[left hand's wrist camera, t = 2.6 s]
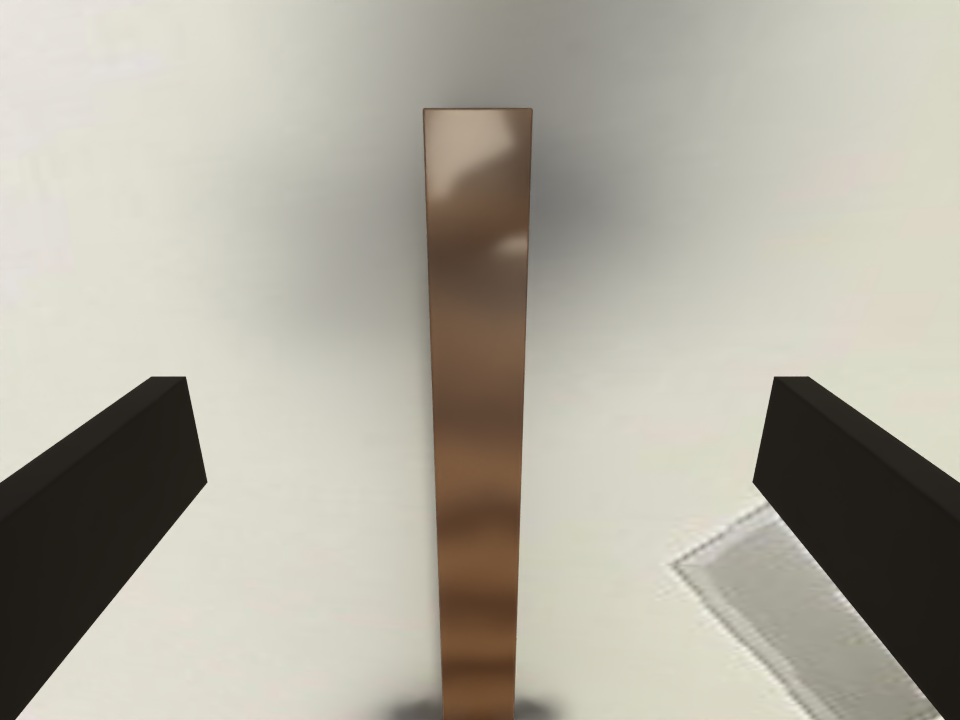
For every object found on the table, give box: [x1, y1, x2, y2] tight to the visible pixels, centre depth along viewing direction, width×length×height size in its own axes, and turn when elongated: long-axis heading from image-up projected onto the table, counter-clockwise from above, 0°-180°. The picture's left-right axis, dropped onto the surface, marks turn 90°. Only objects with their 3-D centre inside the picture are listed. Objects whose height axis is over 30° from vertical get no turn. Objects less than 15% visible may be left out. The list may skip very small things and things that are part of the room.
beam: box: [423, 108, 533, 720], centre depth 35 cm, size 51×4×7 cm, turn 0°
